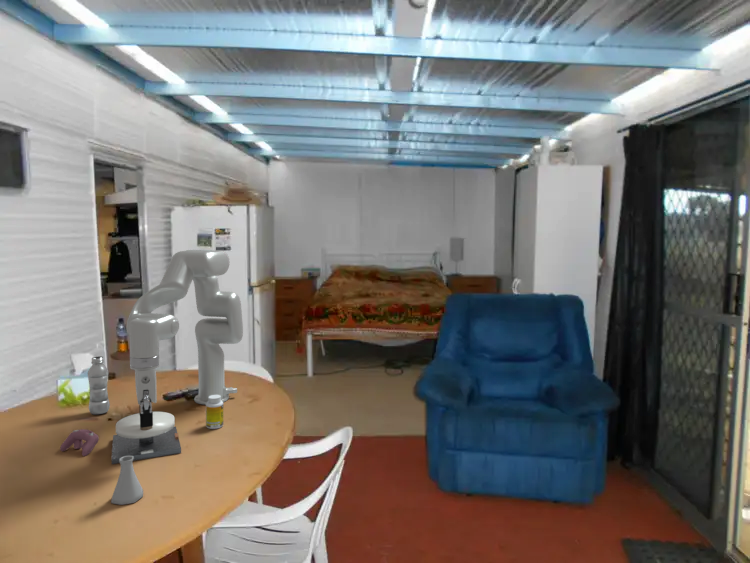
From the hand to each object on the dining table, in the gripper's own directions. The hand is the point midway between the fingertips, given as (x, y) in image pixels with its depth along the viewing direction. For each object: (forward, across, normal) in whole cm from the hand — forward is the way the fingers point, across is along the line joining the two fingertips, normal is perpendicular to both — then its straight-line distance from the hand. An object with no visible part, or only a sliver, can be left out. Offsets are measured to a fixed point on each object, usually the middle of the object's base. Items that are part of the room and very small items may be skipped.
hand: (146, 420), depth 143 cm
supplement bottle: (+11, +15, -21) cm, 28 cm away
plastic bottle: (+10, +43, +14) cm, 47 cm away
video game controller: (+11, +12, +17) cm, 24 cm away
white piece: (+5, +7, 0) cm, 9 cm away
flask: (+11, -23, +5) cm, 26 cm away
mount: (+10, +7, 0) cm, 13 cm away
